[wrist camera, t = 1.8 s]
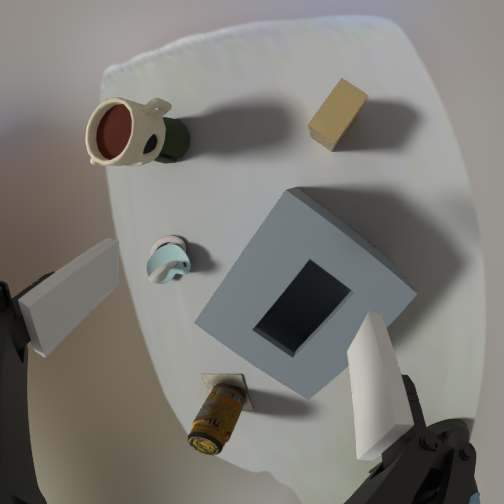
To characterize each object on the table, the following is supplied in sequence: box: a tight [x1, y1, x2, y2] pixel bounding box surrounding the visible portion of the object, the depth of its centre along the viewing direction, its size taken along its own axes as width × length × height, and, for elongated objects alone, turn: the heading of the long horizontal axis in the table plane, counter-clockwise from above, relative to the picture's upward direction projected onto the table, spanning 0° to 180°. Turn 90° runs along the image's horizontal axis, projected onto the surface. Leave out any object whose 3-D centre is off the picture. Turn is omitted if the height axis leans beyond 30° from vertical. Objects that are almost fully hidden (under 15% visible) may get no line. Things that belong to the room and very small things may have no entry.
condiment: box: [188, 374, 253, 455], centre depth 38 cm, size 7×8×12 cm
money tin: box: [194, 187, 417, 400], centre depth 30 cm, size 15×16×11 cm
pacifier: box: [147, 236, 191, 284], centre depth 37 cm, size 7×6×6 cm
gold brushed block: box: [308, 78, 368, 152], centre depth 27 cm, size 3×6×8 cm, turn 146°
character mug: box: [86, 97, 190, 166], centre depth 29 cm, size 11×7×13 cm, turn 121°
